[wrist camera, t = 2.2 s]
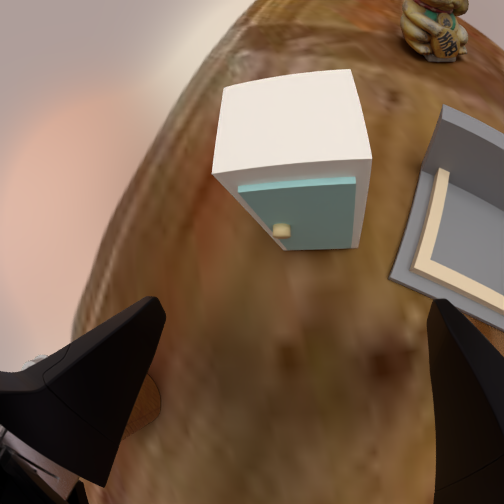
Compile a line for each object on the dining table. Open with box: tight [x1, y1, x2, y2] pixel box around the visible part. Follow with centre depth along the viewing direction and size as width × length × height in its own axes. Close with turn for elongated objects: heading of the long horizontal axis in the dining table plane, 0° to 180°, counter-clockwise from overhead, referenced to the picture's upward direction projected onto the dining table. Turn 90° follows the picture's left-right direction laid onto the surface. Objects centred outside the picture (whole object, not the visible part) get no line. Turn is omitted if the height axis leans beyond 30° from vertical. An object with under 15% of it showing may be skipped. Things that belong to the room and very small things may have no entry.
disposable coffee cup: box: [21, 355, 161, 440], centre depth 18 cm, size 10×10×12 cm
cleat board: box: [388, 104, 504, 332], centre depth 13 cm, size 11×13×8 cm
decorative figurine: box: [400, 0, 469, 62], centre depth 15 cm, size 10×8×15 cm
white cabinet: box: [212, 69, 372, 250], centre depth 16 cm, size 6×6×13 cm
